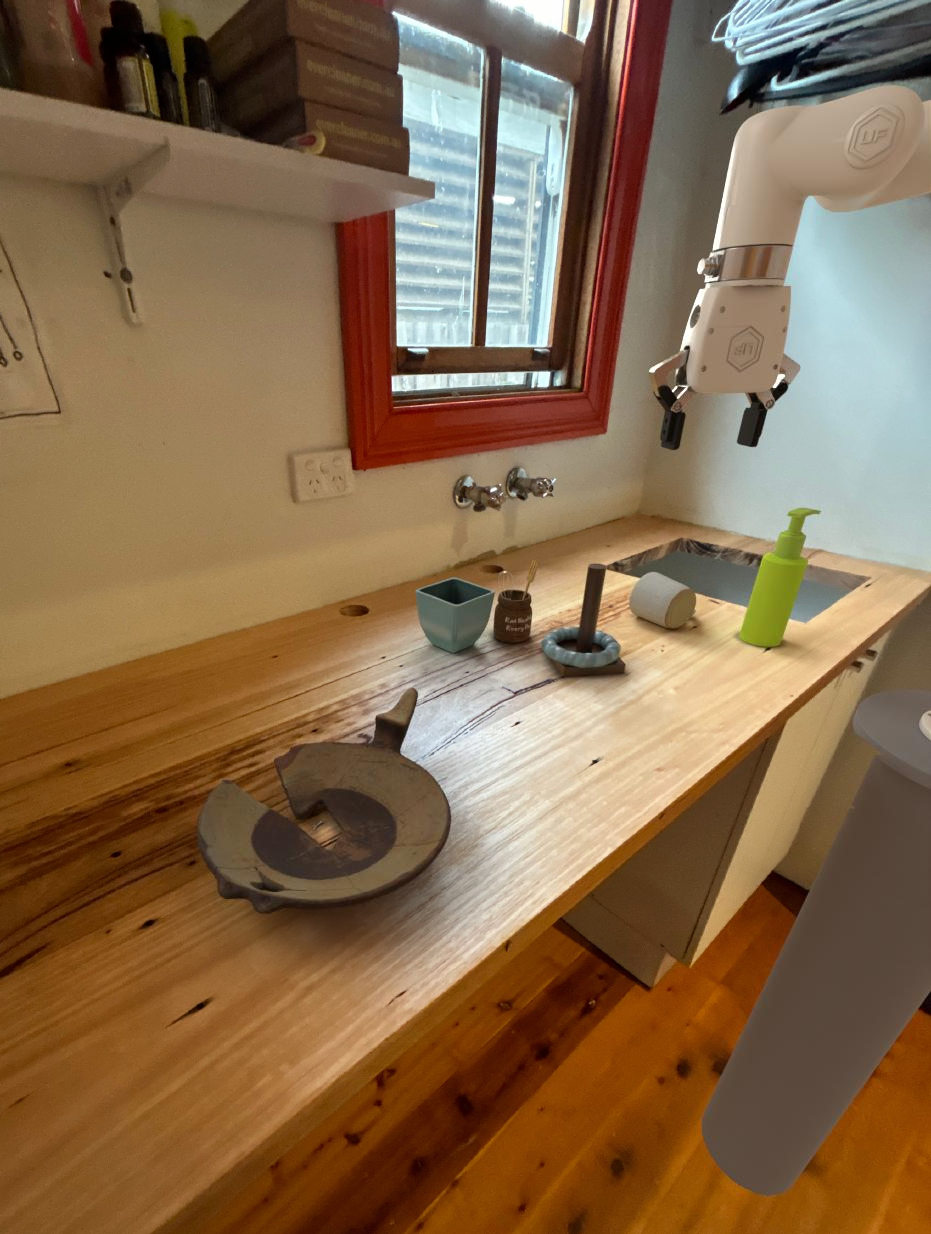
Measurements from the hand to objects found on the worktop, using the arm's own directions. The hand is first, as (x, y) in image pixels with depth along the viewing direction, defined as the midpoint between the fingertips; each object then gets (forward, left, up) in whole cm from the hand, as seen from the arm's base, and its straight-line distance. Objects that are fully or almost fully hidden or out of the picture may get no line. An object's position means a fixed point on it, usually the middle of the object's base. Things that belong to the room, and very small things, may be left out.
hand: (708, 447), depth 72 cm
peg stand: (+10, -4, -30) cm, 32 cm away
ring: (+10, -4, -28) cm, 30 cm away
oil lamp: (+45, +28, -30) cm, 61 cm away
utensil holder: (+18, -14, -30) cm, 38 cm away
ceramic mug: (-9, -17, -30) cm, 36 cm away
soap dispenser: (-21, -8, -30) cm, 38 cm away
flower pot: (+28, -12, -30) cm, 43 cm away
